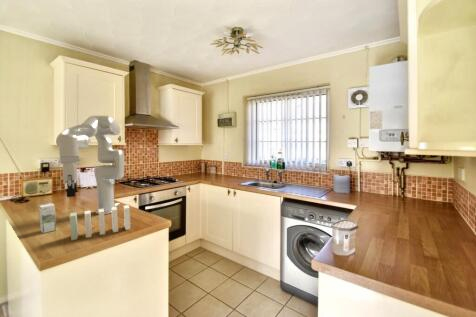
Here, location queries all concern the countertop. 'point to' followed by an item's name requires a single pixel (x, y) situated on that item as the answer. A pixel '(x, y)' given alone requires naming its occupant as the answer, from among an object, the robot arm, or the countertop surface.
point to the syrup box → (47, 217)
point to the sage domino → (73, 226)
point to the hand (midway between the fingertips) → (72, 194)
